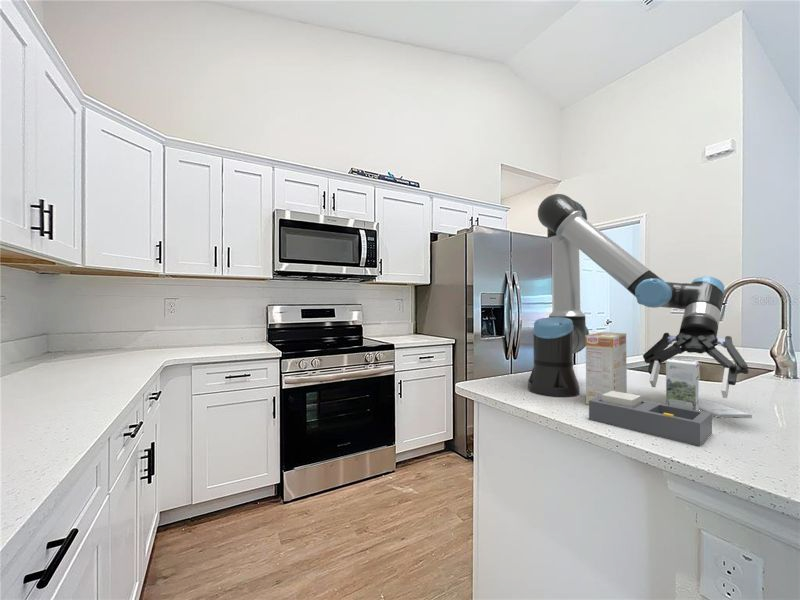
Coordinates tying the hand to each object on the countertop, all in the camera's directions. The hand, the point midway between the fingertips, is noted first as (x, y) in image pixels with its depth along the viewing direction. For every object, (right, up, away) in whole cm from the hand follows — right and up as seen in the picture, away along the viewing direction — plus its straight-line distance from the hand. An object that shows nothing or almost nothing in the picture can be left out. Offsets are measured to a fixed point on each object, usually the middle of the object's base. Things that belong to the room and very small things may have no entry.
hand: (686, 389), depth 85 cm
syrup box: (0, -8, +1) cm, 8 cm away
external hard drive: (+14, -9, +9) cm, 19 cm away
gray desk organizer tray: (-12, -8, -3) cm, 14 cm away
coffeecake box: (-9, -8, +17) cm, 21 cm away
